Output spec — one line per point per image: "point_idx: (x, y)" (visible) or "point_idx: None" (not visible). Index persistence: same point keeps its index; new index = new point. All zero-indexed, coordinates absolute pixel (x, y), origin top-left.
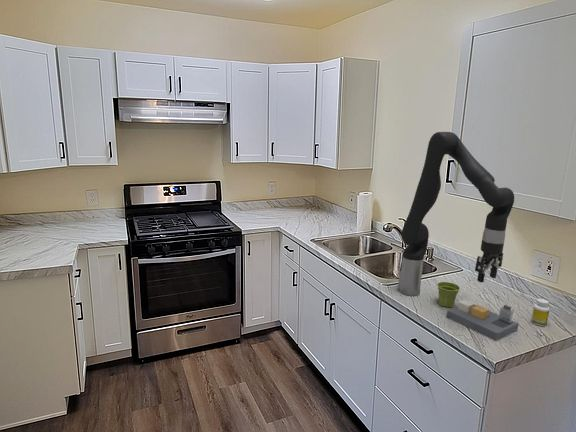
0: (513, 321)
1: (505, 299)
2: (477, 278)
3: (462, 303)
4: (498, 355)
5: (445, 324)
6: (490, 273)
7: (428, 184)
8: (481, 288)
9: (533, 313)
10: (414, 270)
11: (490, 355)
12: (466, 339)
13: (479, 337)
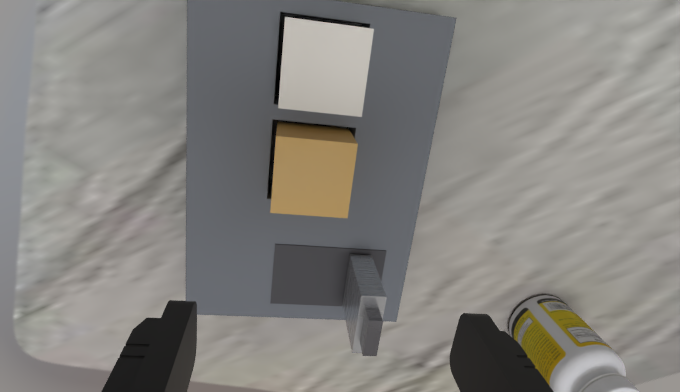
0: (394, 300)
1: None
2: (163, 315)
3: (285, 52)
4: (77, 348)
5: (100, 36)
6: (480, 343)
7: None
8: None
9: (545, 334)
10: None
11: (41, 331)
12: (62, 203)
13: (149, 231)
